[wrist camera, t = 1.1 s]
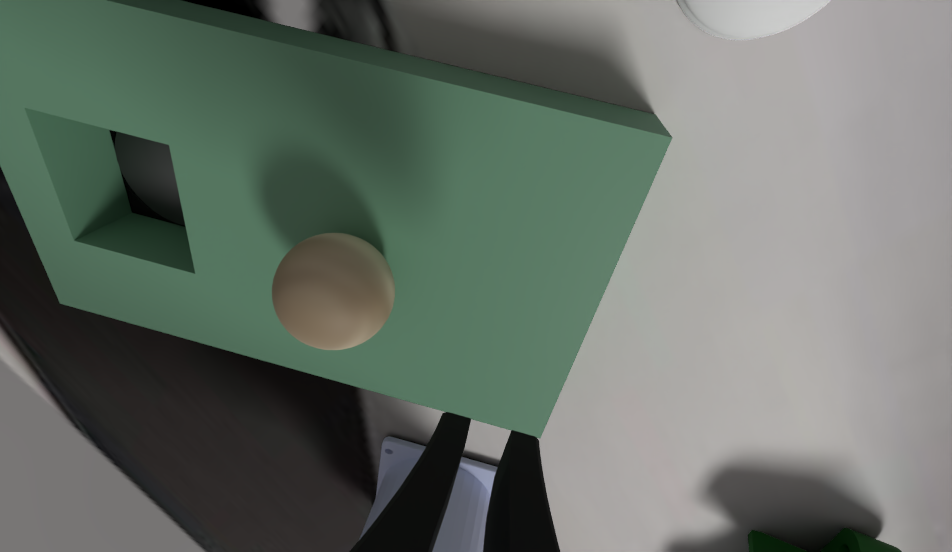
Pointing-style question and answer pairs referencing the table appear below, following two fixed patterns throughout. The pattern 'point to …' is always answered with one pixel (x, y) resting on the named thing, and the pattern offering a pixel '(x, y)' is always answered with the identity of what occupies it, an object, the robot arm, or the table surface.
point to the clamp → (845, 548)
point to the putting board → (319, 193)
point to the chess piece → (748, 16)
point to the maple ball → (333, 291)
